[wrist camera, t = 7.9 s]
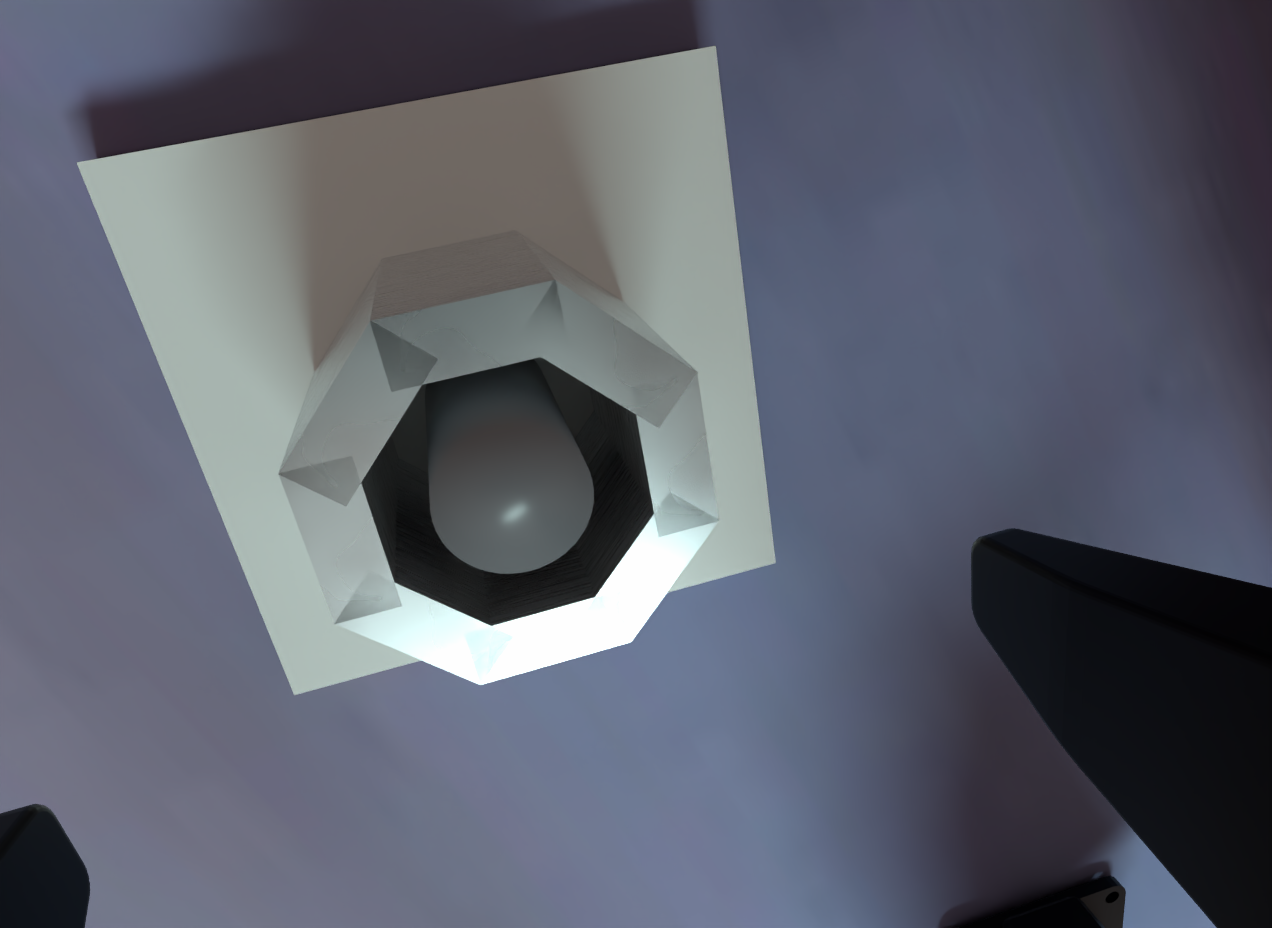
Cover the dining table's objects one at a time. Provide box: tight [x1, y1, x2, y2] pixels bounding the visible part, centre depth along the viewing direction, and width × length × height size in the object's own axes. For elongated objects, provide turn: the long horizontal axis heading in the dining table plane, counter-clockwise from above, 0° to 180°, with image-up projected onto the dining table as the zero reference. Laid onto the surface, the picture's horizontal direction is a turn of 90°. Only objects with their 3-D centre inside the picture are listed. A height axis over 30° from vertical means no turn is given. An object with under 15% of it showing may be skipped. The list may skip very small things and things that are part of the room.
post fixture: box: [77, 46, 776, 695], centre depth 16 cm, size 11×11×6 cm
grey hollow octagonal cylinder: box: [278, 230, 719, 685], centre depth 15 cm, size 6×6×5 cm
